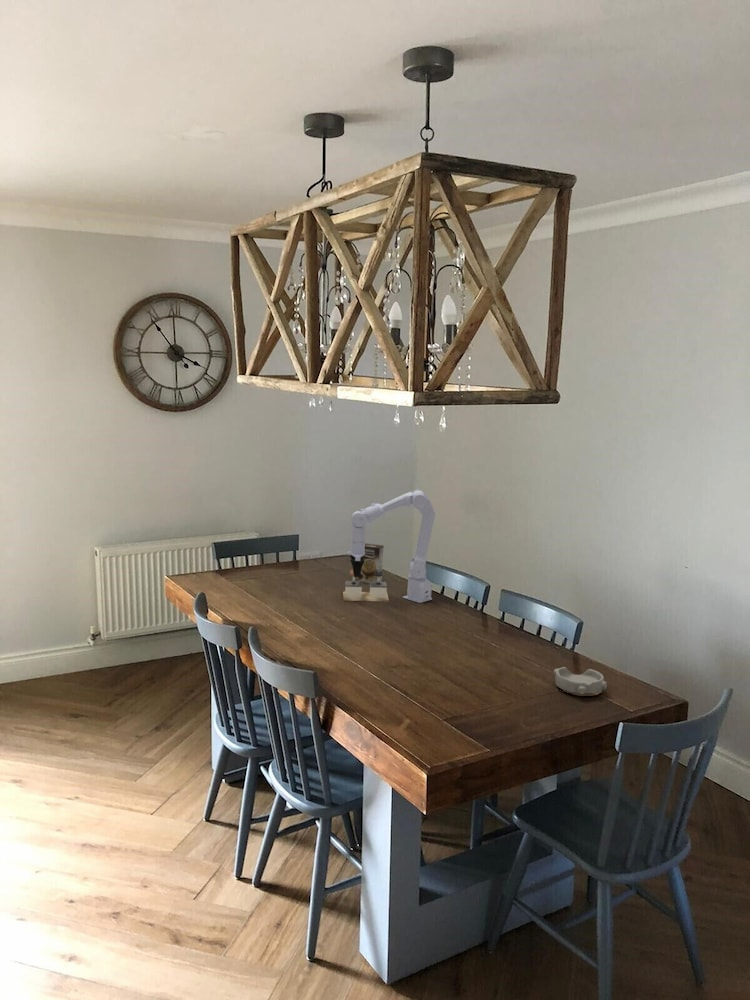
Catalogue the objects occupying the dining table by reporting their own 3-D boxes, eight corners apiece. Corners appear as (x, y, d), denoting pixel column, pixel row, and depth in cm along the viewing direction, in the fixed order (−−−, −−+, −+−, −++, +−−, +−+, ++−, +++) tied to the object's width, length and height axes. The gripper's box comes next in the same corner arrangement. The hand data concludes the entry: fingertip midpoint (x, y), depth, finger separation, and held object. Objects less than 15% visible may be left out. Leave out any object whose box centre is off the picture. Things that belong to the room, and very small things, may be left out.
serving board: (386, 594, 334) (387, 592, 333) (388, 601, 324) (388, 599, 324) (343, 593, 333) (343, 591, 332) (343, 600, 323) (343, 598, 323)
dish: (547, 682, 247) (548, 666, 246) (588, 679, 250) (590, 664, 249) (569, 701, 233) (570, 685, 232) (612, 698, 236) (614, 682, 235)
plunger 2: (382, 585, 329) (382, 570, 328) (382, 587, 326) (383, 572, 325) (374, 585, 329) (374, 570, 328) (374, 587, 326) (375, 572, 325)
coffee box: (358, 582, 351) (359, 545, 348) (362, 578, 357) (363, 542, 354) (378, 584, 348) (379, 547, 346) (382, 580, 354) (383, 544, 352)
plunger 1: (357, 584, 329) (358, 569, 328) (357, 586, 326) (358, 571, 324) (349, 584, 328) (350, 569, 327) (349, 586, 325) (350, 571, 324)
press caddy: (385, 593, 332) (386, 581, 331) (386, 598, 325) (387, 586, 324) (345, 592, 331) (345, 580, 330) (345, 597, 324) (345, 585, 323)
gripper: (347, 537, 331) (346, 569, 333) (348, 545, 317) (346, 578, 319) (364, 537, 331) (363, 569, 334) (366, 545, 317) (364, 579, 319)
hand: (356, 574), depth 326 cm, fingers open, 7 cm apart
